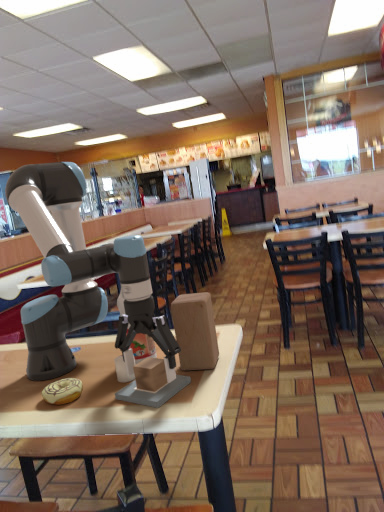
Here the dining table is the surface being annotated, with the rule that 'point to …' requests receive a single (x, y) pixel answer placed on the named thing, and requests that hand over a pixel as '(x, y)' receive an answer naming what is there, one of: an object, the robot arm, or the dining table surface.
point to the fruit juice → (138, 339)
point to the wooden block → (195, 331)
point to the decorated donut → (62, 391)
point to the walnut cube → (150, 374)
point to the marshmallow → (122, 370)
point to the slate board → (150, 397)
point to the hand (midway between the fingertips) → (151, 376)
